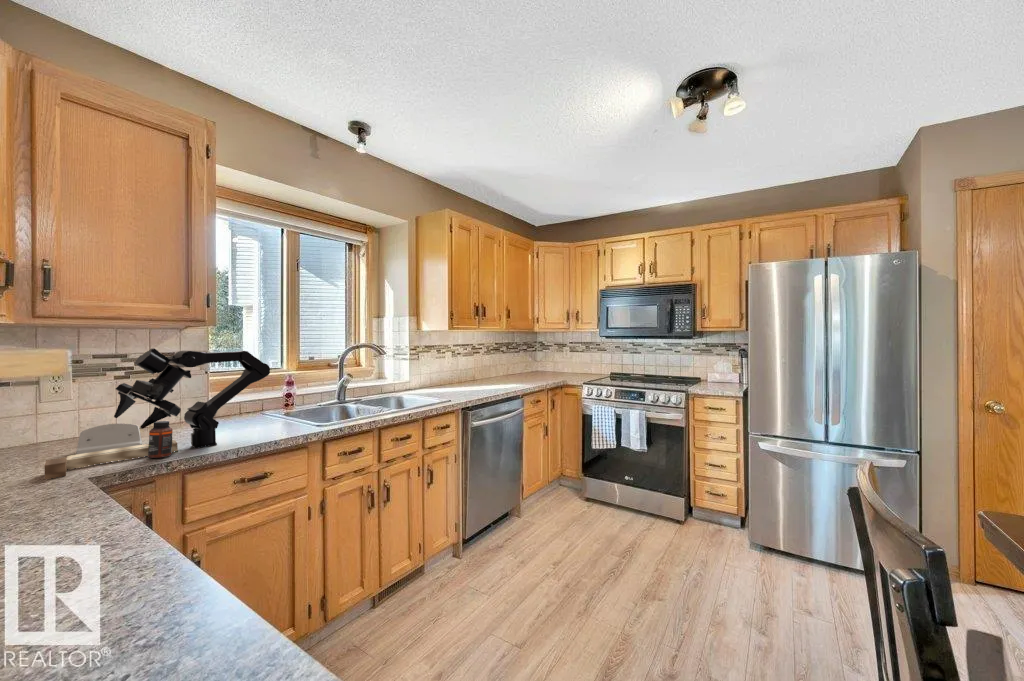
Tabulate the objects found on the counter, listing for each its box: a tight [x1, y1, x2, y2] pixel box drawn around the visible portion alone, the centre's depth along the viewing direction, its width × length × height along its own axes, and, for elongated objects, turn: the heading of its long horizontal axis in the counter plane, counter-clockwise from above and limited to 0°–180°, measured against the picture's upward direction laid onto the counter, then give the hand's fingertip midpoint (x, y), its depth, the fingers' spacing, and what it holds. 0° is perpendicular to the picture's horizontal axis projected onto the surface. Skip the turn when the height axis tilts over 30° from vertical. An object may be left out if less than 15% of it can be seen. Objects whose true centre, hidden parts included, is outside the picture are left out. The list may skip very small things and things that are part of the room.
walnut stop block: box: [43, 456, 68, 480], centre depth 120 cm, size 4×7×4 cm, turn 45°
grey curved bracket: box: [75, 423, 143, 455], centre depth 147 cm, size 17×5×10 cm, turn 128°
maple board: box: [66, 439, 178, 470], centre depth 136 cm, size 26×6×3 cm, turn 135°
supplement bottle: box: [147, 420, 174, 459], centre depth 137 cm, size 6×6×11 cm
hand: (128, 422), depth 132 cm, fingers open, 8 cm apart
